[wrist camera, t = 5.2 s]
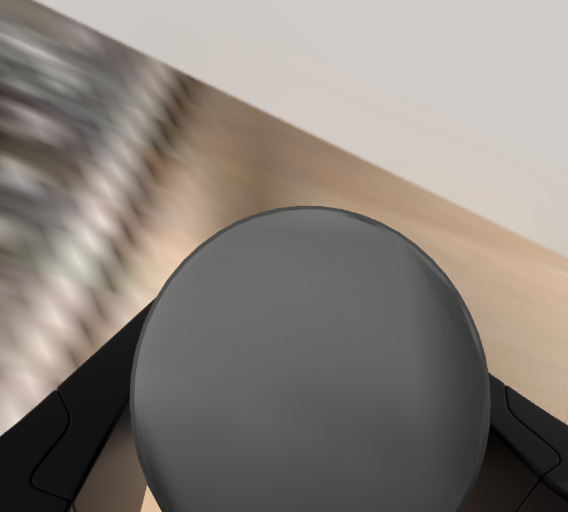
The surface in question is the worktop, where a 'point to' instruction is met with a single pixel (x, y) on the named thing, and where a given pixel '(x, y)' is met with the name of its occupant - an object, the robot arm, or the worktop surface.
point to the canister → (309, 373)
